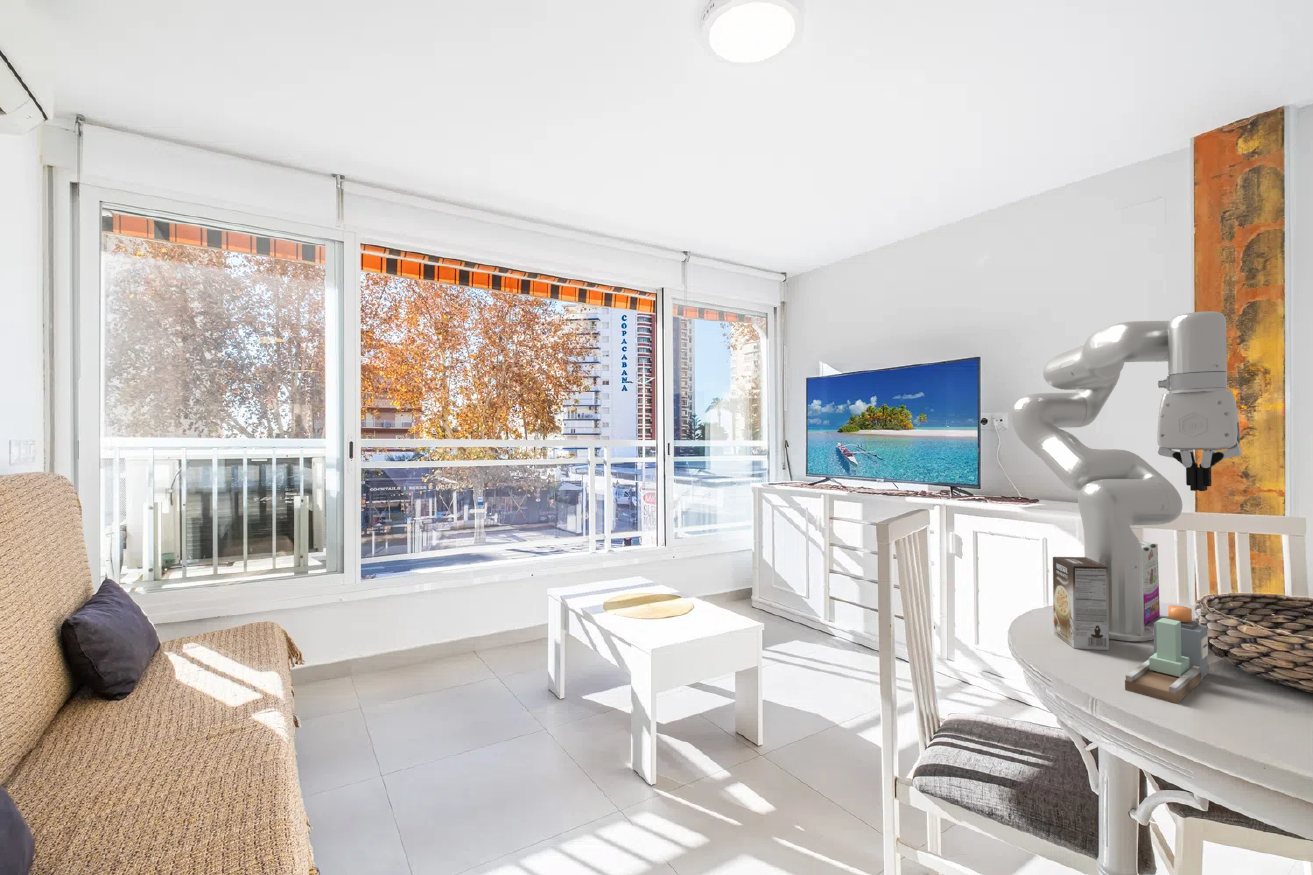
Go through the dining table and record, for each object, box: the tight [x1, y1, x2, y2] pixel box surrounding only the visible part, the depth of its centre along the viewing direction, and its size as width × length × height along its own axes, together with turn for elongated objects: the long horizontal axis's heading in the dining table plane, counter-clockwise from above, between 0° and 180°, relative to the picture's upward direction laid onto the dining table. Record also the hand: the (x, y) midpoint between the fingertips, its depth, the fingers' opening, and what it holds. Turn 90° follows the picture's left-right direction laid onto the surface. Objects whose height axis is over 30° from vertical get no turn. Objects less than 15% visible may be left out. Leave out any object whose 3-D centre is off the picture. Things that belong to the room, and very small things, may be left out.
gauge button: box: [1167, 604, 1193, 622], centre depth 102 cm, size 3×3×2 cm
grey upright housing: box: [1153, 615, 1209, 680], centre depth 102 cm, size 5×6×9 cm
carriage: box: [1148, 617, 1189, 677], centre depth 98 cm, size 5×4×8 cm
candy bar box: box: [1139, 541, 1161, 626], centre depth 131 cm, size 11×5×16 cm, turn 126°
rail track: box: [1124, 658, 1202, 705], centre depth 96 cm, size 14×6×2 cm, turn 126°
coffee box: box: [1052, 556, 1110, 651], centre depth 117 cm, size 9×6×16 cm
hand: (1198, 490), depth 102 cm, fingers closed
